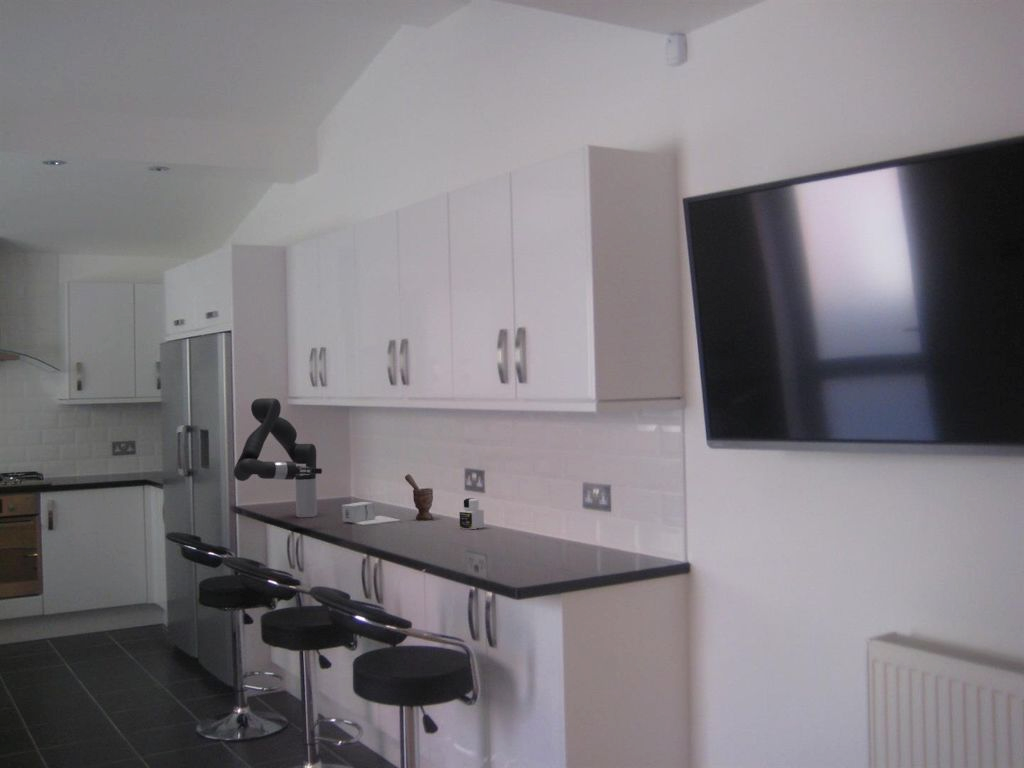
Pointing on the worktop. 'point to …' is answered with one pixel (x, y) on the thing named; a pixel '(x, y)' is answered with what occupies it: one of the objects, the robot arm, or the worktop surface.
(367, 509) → the supplement box
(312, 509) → the robot arm
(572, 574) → the worktop surface
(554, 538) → the worktop surface
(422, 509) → the mortar and pestle
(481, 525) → the medicine bottle
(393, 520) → the mat
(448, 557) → the worktop surface
